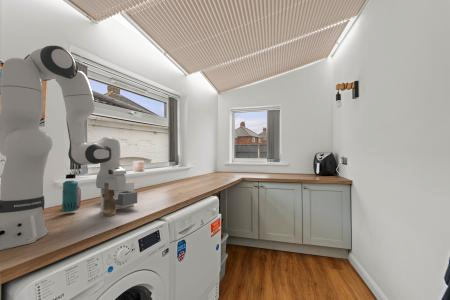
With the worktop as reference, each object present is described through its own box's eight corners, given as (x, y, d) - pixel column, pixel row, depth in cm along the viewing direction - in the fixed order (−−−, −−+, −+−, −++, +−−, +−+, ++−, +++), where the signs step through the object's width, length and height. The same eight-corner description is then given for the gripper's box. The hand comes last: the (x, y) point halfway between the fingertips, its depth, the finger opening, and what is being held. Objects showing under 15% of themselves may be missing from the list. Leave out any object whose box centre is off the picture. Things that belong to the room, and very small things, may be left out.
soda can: (72, 210, 115) (72, 187, 115) (61, 209, 116) (62, 187, 116) (83, 207, 121) (84, 186, 122) (73, 206, 123) (73, 185, 123)
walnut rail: (107, 216, 102) (108, 183, 103) (103, 215, 104) (104, 182, 105) (115, 214, 106) (115, 182, 106) (111, 213, 108) (111, 181, 108)
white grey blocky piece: (113, 215, 105) (114, 186, 105) (100, 211, 111) (101, 184, 111) (144, 207, 120) (144, 182, 121) (131, 205, 126) (131, 181, 127)
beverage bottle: (70, 211, 112) (71, 173, 112) (80, 212, 110) (81, 173, 111) (58, 214, 105) (59, 174, 106) (69, 215, 104) (70, 174, 105)
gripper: (92, 170, 108) (92, 197, 108) (115, 171, 98) (115, 201, 97) (105, 169, 114) (104, 195, 113) (128, 170, 103) (128, 199, 103)
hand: (109, 198), depth 105 cm, fingers open, 8 cm apart
